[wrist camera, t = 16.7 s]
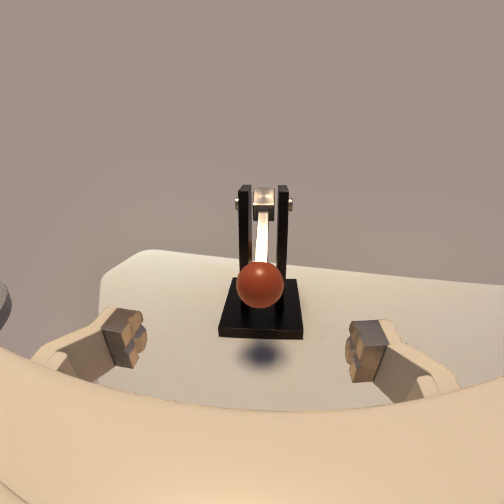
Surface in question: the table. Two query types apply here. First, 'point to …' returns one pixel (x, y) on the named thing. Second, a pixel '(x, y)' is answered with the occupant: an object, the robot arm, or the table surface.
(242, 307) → the bracket
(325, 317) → the table surface
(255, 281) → the faucet lever
